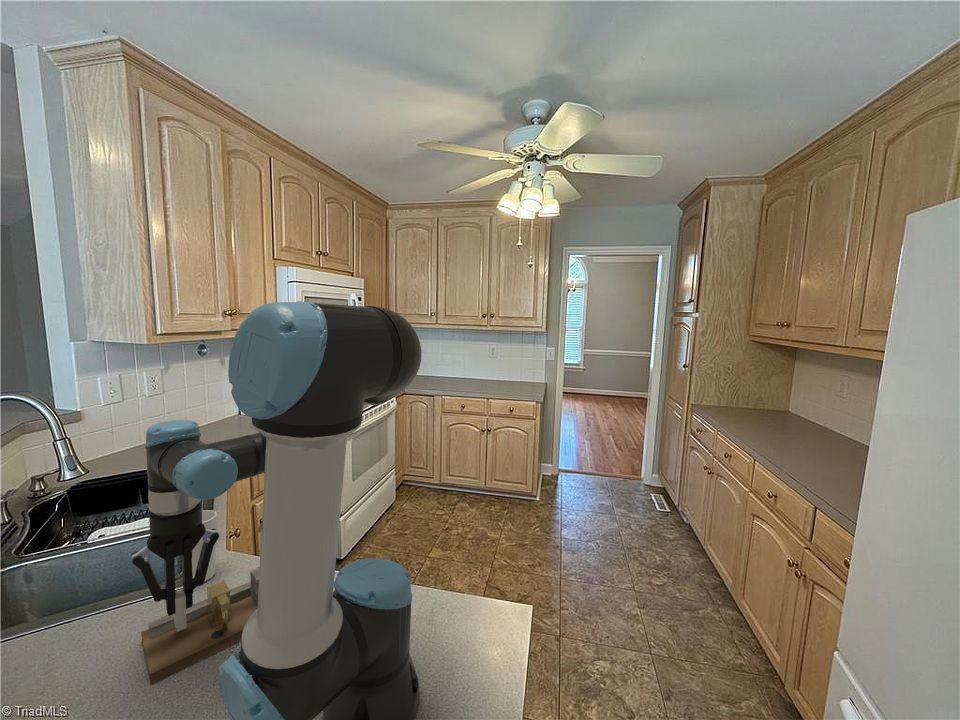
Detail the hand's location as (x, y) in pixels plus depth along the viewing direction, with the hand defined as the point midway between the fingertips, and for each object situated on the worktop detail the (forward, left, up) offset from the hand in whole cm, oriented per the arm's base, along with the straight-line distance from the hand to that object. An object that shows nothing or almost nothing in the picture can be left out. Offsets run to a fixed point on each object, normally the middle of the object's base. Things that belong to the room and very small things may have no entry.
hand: (180, 625), depth 74 cm
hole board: (-1, -7, -4) cm, 8 cm away
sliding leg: (-2, -6, -2) cm, 7 cm away
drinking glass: (+19, -7, -4) cm, 21 cm away
